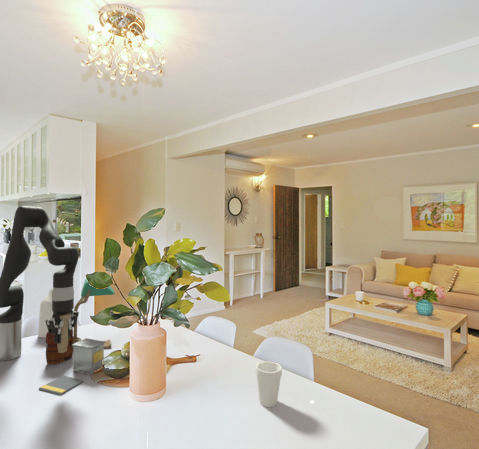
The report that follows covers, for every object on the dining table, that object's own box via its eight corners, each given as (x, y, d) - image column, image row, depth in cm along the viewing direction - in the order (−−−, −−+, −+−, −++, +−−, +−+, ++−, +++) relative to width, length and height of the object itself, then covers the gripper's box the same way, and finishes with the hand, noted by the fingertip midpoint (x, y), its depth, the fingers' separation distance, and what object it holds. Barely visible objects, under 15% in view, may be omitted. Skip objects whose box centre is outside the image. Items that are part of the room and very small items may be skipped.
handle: (62, 355, 124) (62, 316, 124) (51, 352, 126) (51, 314, 126) (73, 351, 128) (74, 313, 128) (62, 348, 131) (63, 311, 131)
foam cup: (259, 411, 112) (260, 374, 112) (251, 397, 121) (252, 362, 121) (285, 407, 115) (285, 371, 115) (275, 394, 124) (276, 360, 124)
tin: (71, 371, 139) (72, 344, 139) (85, 363, 147) (86, 338, 147) (91, 375, 136) (91, 348, 136) (104, 367, 143) (105, 341, 143)
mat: (39, 389, 124) (39, 387, 124) (63, 376, 134) (63, 375, 134) (60, 395, 120) (60, 393, 120) (83, 381, 131) (84, 379, 131)
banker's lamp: (69, 345, 168) (70, 278, 168) (112, 339, 177) (113, 275, 177) (67, 356, 154) (68, 283, 154) (114, 350, 163) (115, 280, 162)
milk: (37, 336, 179) (38, 290, 179) (55, 330, 190) (55, 286, 190) (55, 339, 176) (55, 291, 175) (71, 332, 187) (72, 287, 186)
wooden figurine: (54, 366, 143) (55, 326, 143) (43, 364, 145) (44, 324, 145) (76, 356, 155) (76, 318, 154) (65, 354, 157) (66, 317, 156)
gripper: (70, 293, 135) (70, 334, 135) (39, 301, 122) (38, 346, 122) (84, 294, 133) (84, 336, 133) (54, 303, 119) (53, 349, 119)
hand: (62, 341), depth 127 cm, fingers closed on handle, 4 cm apart
